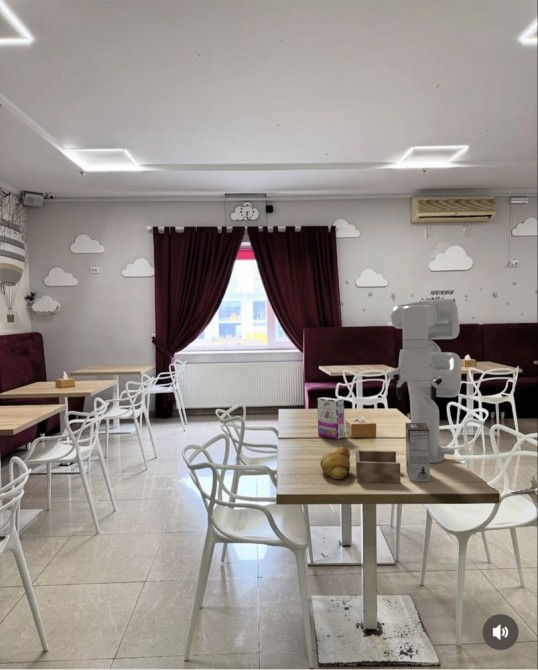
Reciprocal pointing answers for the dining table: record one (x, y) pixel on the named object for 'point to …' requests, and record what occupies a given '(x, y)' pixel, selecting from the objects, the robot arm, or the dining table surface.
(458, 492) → the dining table surface
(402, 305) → the robot arm
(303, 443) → the dining table surface
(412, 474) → the coffee box
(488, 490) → the dining table surface
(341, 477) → the bread roll
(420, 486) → the dining table surface
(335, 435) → the candy bar box
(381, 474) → the open side box
